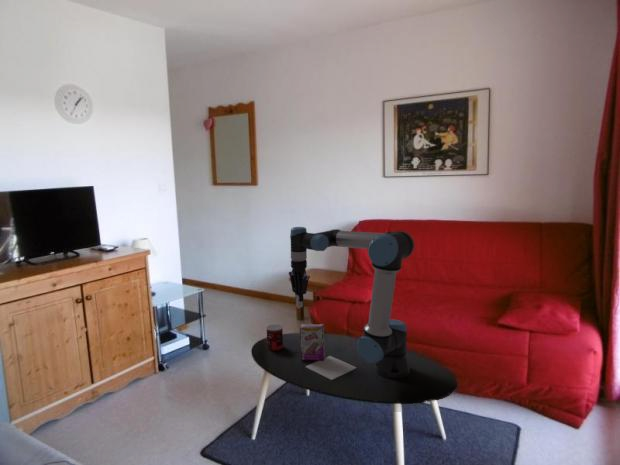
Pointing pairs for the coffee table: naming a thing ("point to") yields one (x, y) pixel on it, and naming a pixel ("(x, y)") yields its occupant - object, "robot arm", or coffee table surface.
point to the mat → (331, 367)
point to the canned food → (274, 337)
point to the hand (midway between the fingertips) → (299, 307)
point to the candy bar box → (312, 342)
